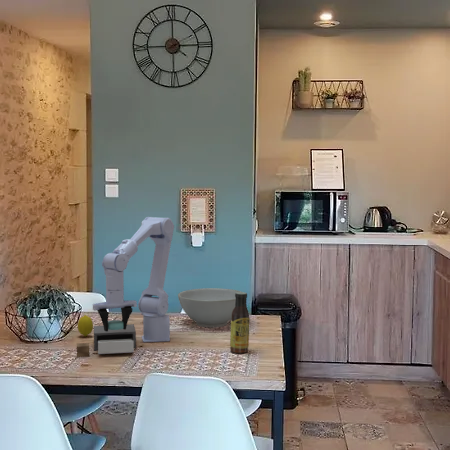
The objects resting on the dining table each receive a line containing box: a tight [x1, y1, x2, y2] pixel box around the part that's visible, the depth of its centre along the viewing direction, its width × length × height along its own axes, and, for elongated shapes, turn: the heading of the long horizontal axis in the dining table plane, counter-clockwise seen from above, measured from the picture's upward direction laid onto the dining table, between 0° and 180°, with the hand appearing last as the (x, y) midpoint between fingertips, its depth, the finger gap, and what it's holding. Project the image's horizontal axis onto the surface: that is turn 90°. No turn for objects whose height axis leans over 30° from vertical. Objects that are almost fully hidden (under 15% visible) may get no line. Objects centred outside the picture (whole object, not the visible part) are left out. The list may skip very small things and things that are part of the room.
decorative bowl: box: [177, 287, 242, 329], centre depth 257 cm, size 27×27×12 cm
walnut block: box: [76, 342, 90, 358], centre depth 212 cm, size 4×4×4 cm
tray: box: [97, 339, 134, 355], centre depth 215 cm, size 11×10×4 cm
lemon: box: [77, 314, 94, 337], centre depth 236 cm, size 6×6×8 cm
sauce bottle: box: [229, 291, 251, 354], centre depth 217 cm, size 6×6×20 cm
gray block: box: [93, 323, 137, 352], centre depth 224 cm, size 14×11×6 cm
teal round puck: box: [108, 319, 124, 330], centre depth 215 cm, size 6×6×2 cm
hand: (115, 329), depth 215 cm, fingers closed on teal round puck, 6 cm apart
